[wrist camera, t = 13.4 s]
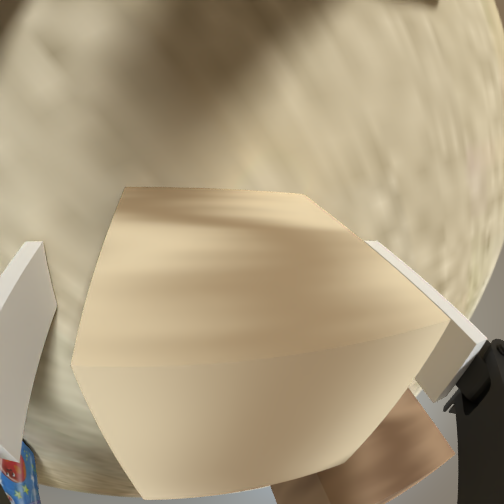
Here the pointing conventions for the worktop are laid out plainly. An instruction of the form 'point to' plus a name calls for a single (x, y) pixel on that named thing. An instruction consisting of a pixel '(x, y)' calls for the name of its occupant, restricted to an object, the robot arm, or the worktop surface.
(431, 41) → the worktop surface
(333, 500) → the walnut brick
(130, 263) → the oak brick
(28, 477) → the snack cup
